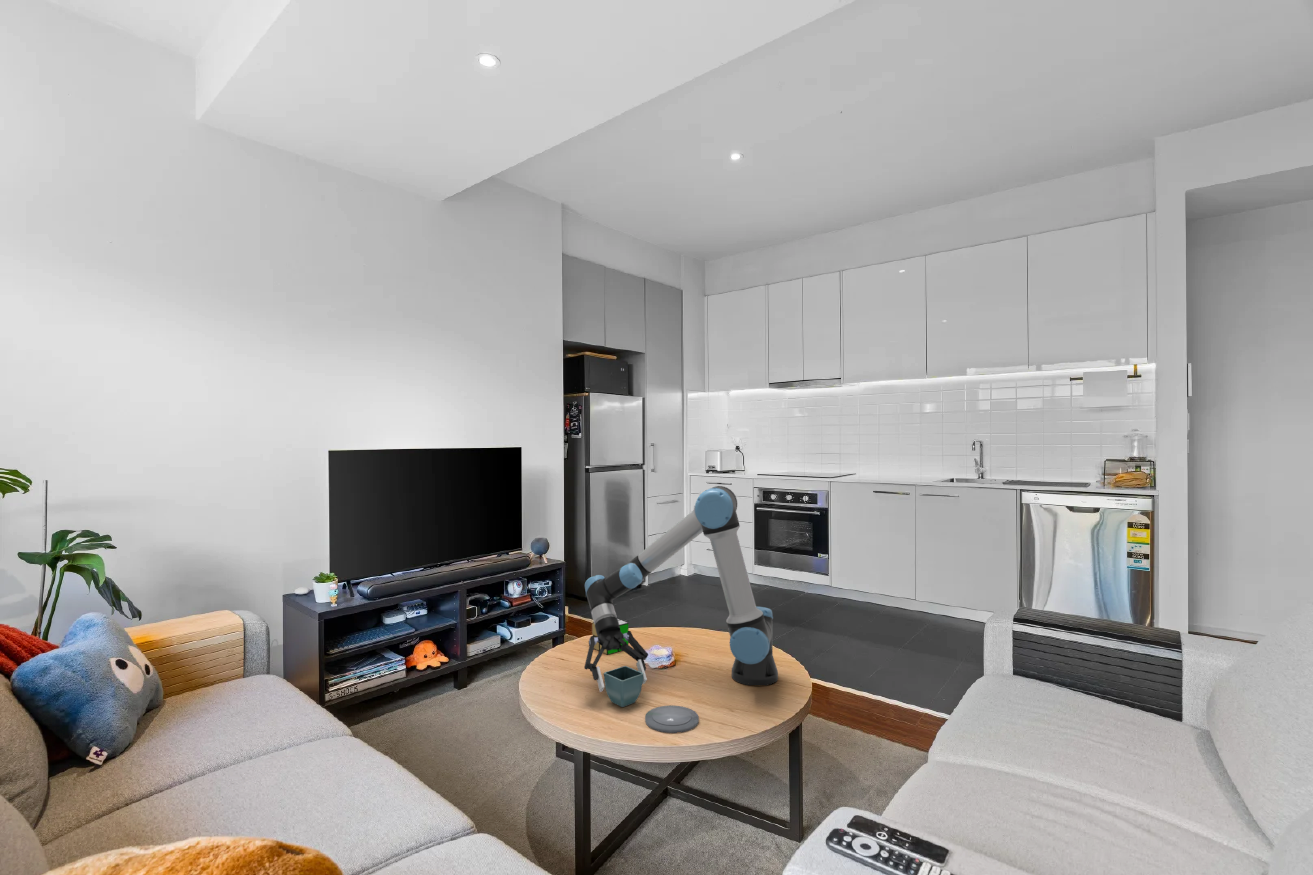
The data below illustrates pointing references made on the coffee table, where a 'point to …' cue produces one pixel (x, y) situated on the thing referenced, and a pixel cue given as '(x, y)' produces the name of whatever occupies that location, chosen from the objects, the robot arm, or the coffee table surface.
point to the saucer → (671, 719)
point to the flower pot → (623, 685)
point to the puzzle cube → (623, 629)
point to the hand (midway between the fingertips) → (623, 685)
